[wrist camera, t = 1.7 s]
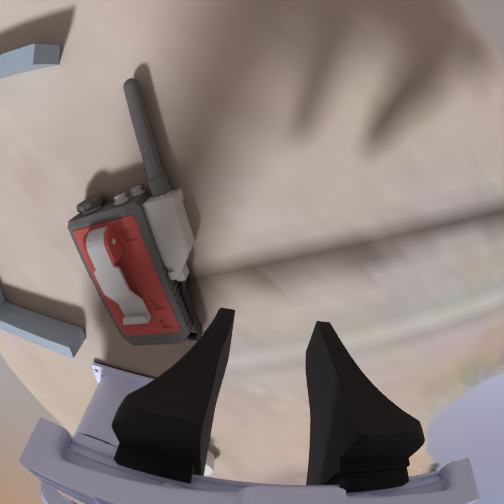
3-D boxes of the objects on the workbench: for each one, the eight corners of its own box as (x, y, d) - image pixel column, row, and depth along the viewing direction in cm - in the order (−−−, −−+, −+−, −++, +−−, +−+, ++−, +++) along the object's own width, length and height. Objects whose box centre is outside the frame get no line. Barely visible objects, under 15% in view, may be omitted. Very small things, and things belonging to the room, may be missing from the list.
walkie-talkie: (228, 324, 25) (153, 73, 16) (220, 363, 21) (122, 69, 13) (139, 332, 27) (54, 119, 18) (122, 366, 23) (15, 129, 14)
